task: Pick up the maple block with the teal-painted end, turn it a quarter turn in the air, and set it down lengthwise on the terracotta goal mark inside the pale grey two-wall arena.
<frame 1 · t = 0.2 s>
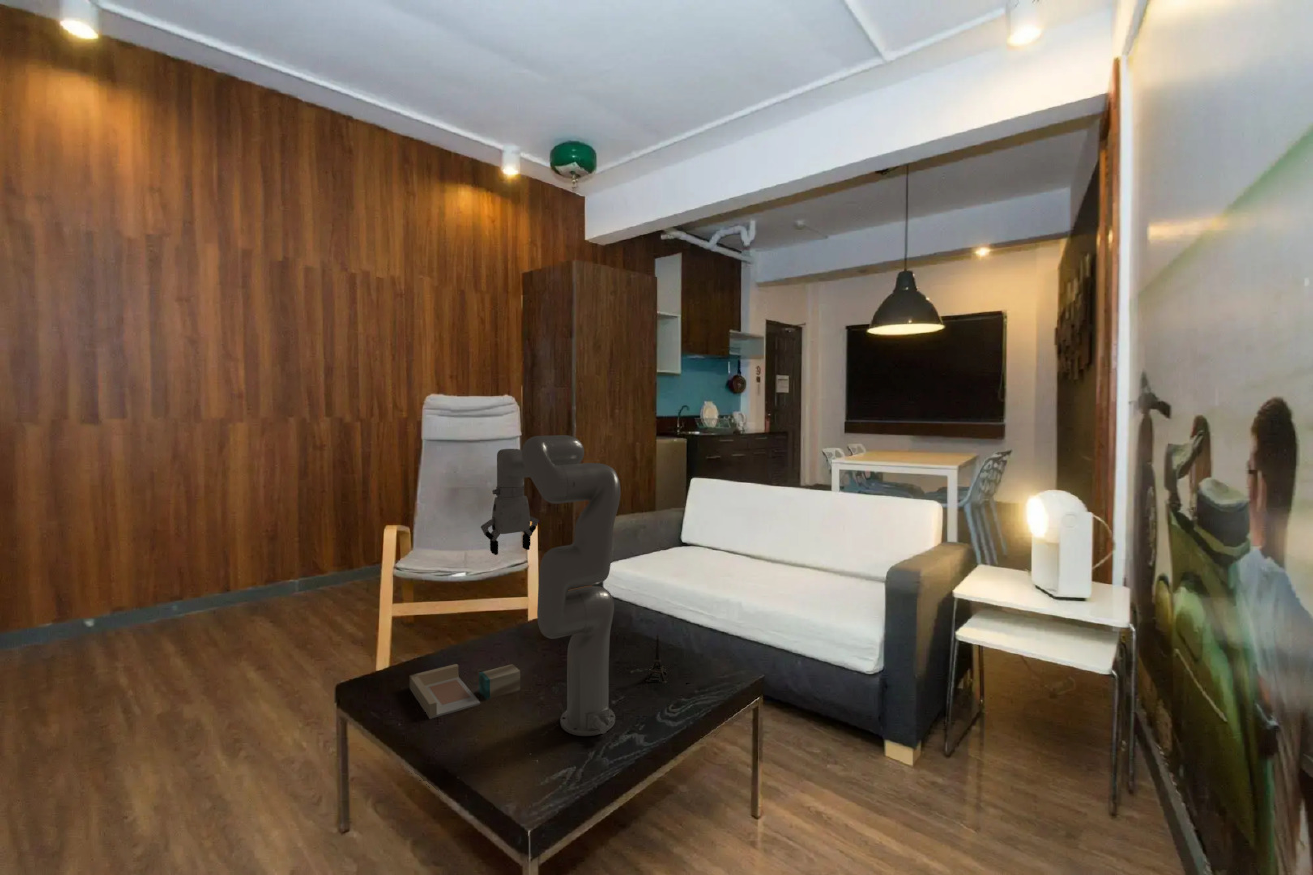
hand: (510, 551, 175), 31 cm above the table, fingers open, 9 cm apart
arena: (444, 696, 152), on the table
eiffel tower figurine: (659, 680, 164), on the table
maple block: (499, 691, 156), on the table
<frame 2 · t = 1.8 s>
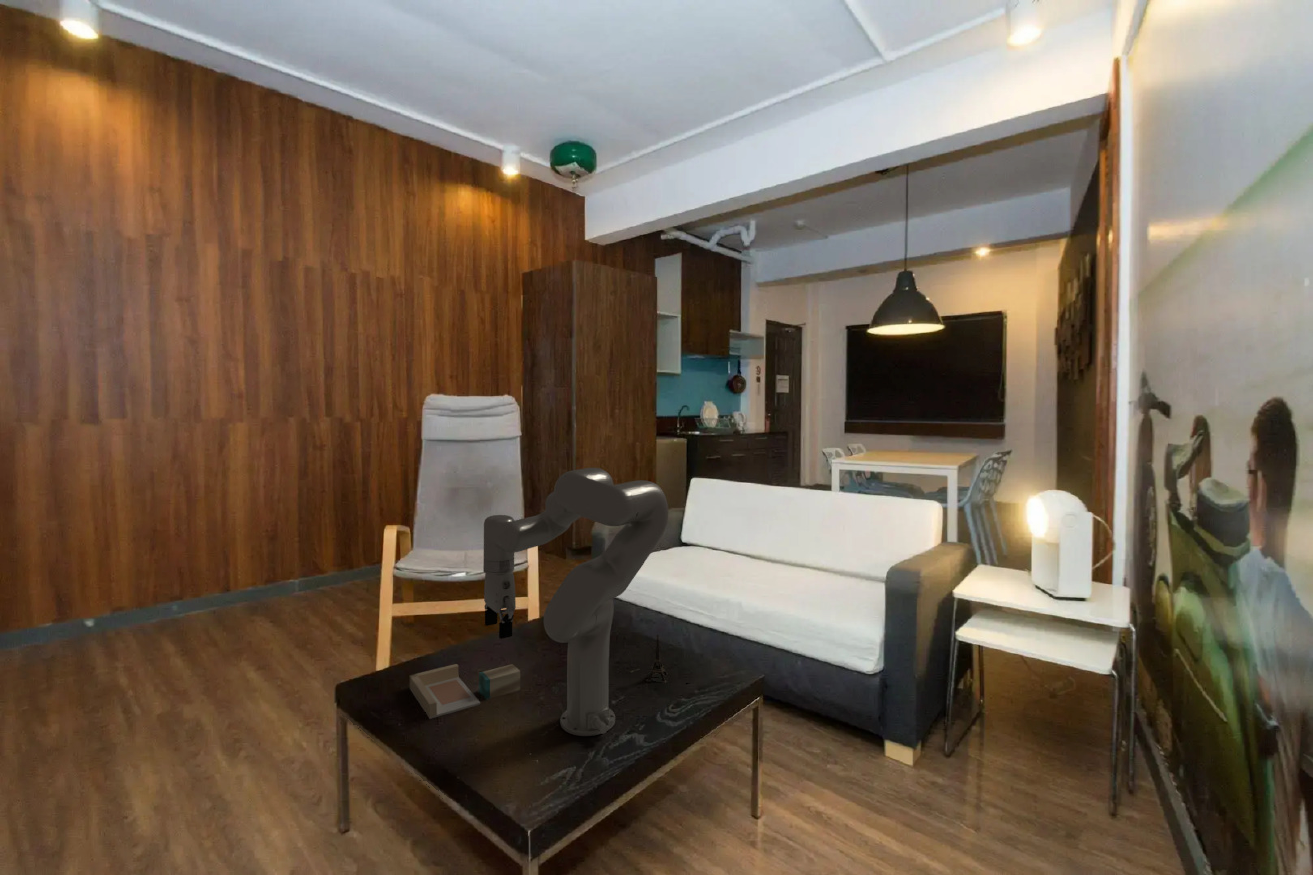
hand: (498, 630, 155), 16 cm above the table, fingers open, 9 cm apart
nothing on the table moved.
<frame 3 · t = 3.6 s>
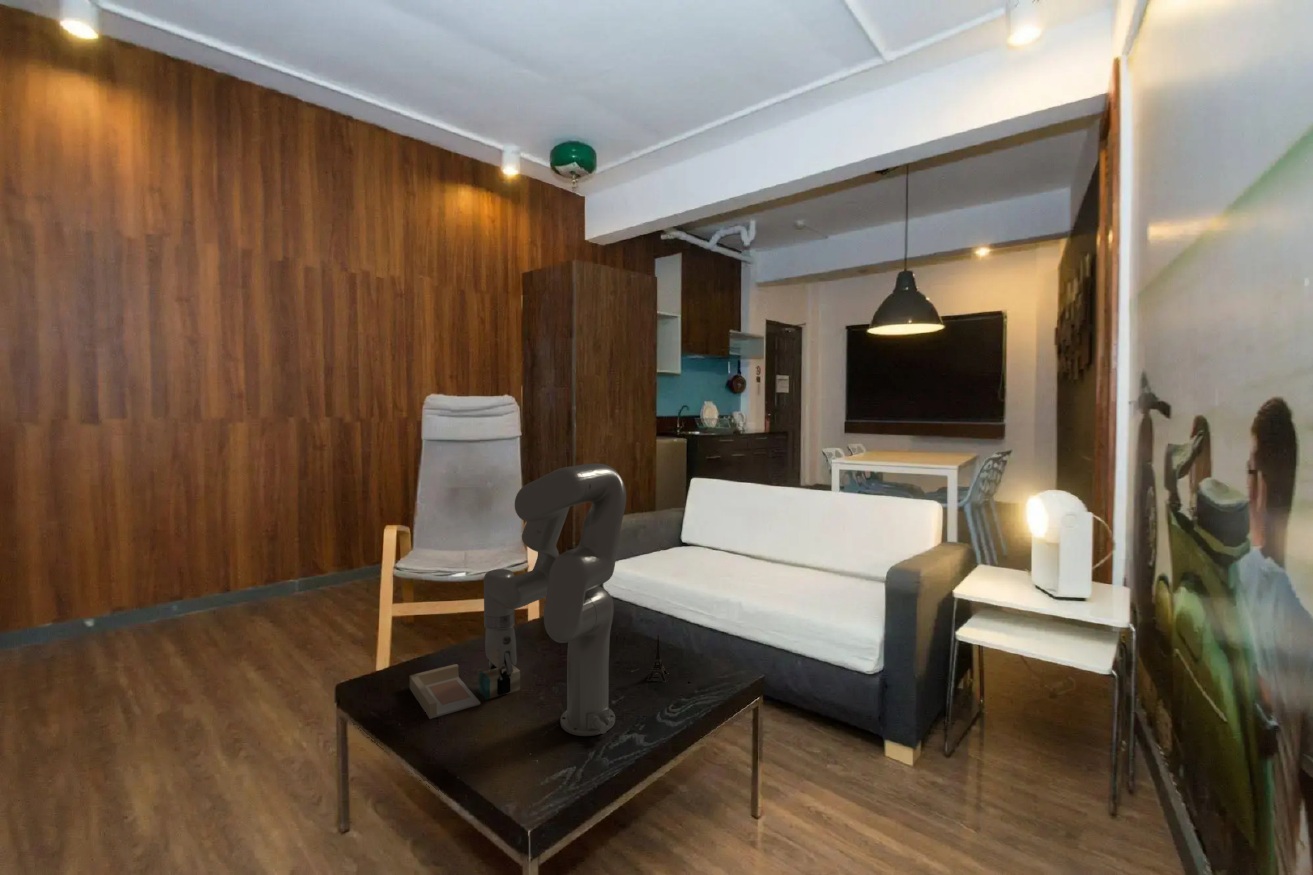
hand: (499, 688, 156), 1 cm above the table, fingers closed on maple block, 5 cm apart
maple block: (499, 690, 156), on the table, touching gripper
everything else where it was.
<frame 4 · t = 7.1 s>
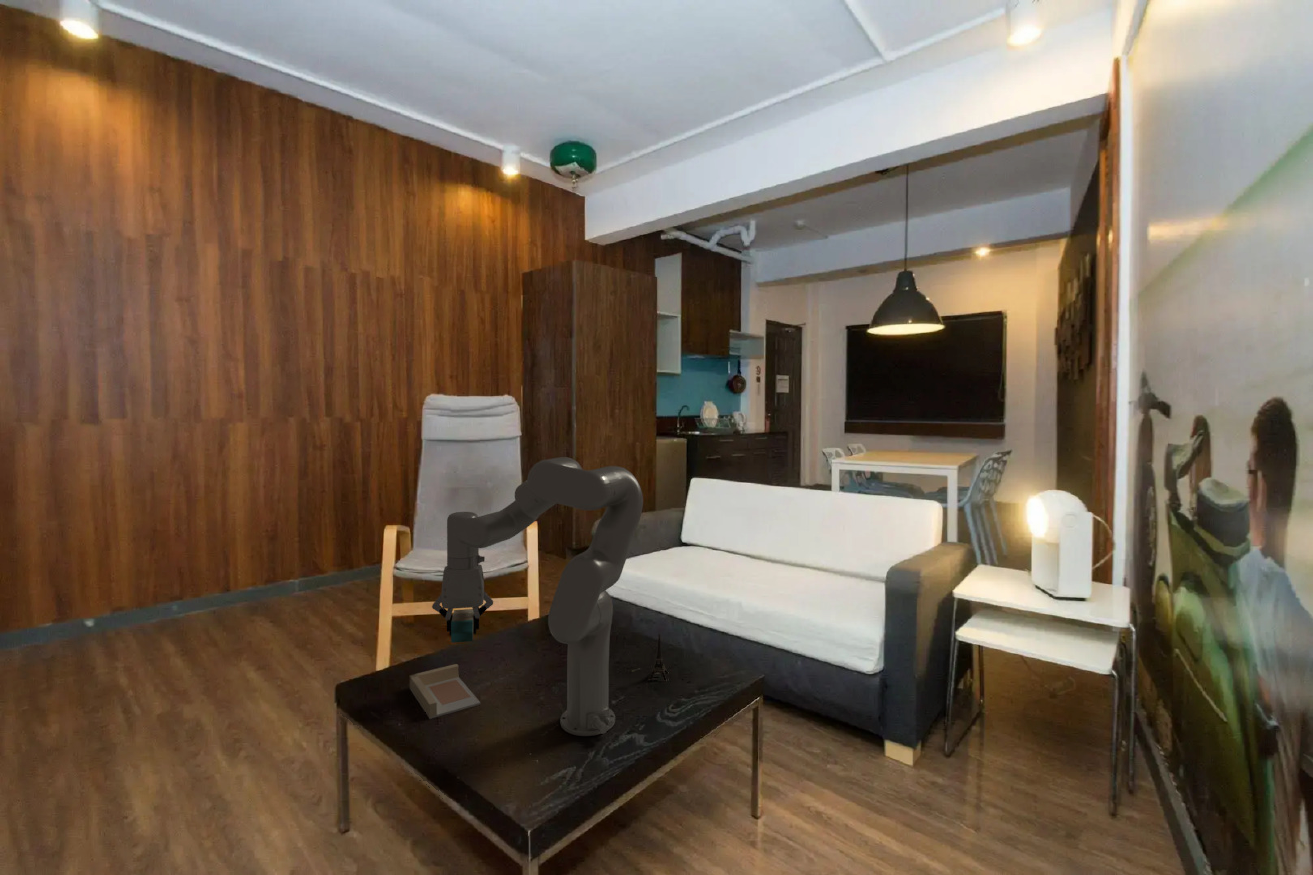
hand: (463, 632, 153), 16 cm above the table, fingers closed on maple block, 5 cm apart
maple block: (463, 635, 154), point 15 cm above the table, touching gripper
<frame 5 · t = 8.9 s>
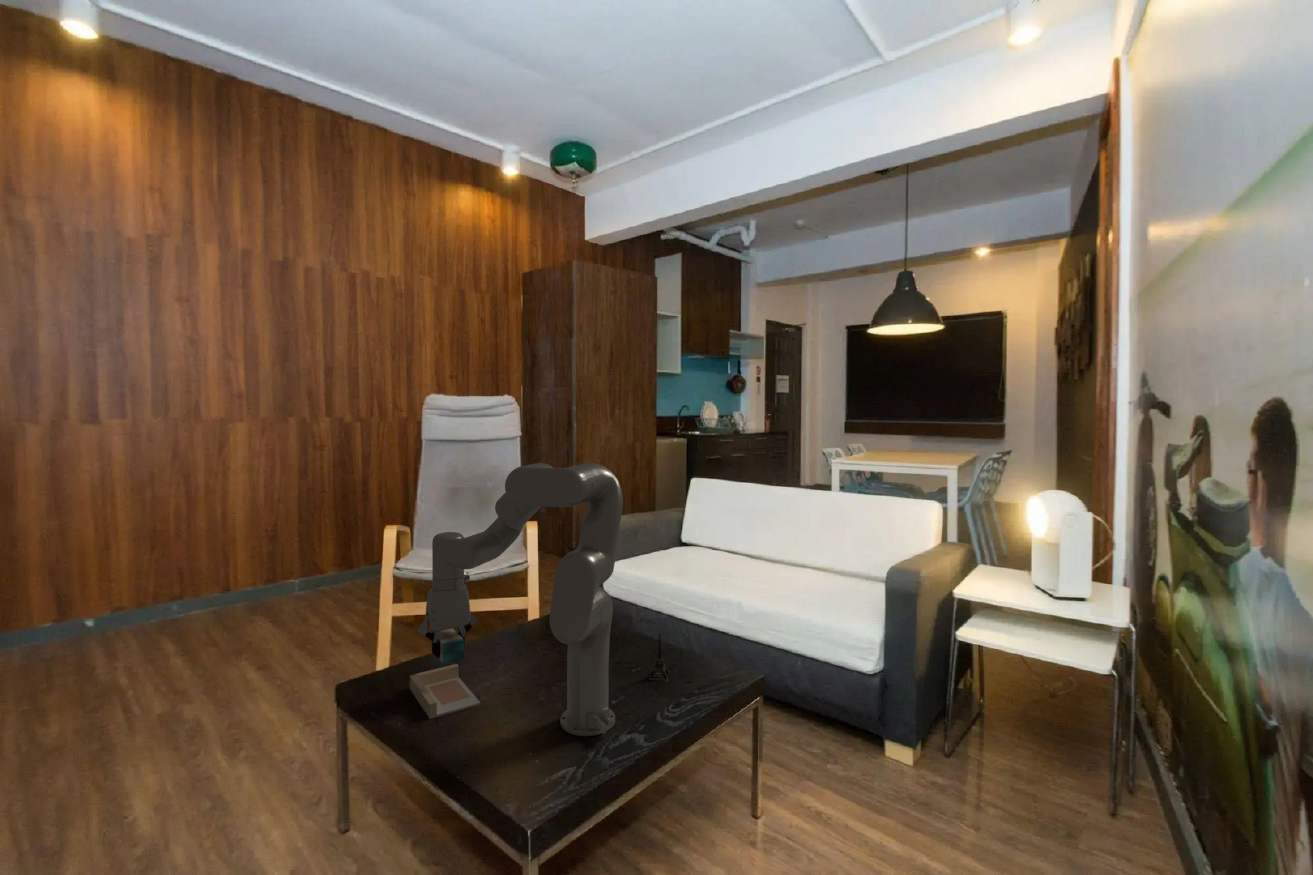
hand: (448, 652, 153), 11 cm above the table, fingers closed on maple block, 5 cm apart
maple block: (448, 655, 153), point 10 cm above the table, touching gripper
when the fingers open (3 cm above the table, at t = 10.6 s): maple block drops 1 cm, resting on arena.
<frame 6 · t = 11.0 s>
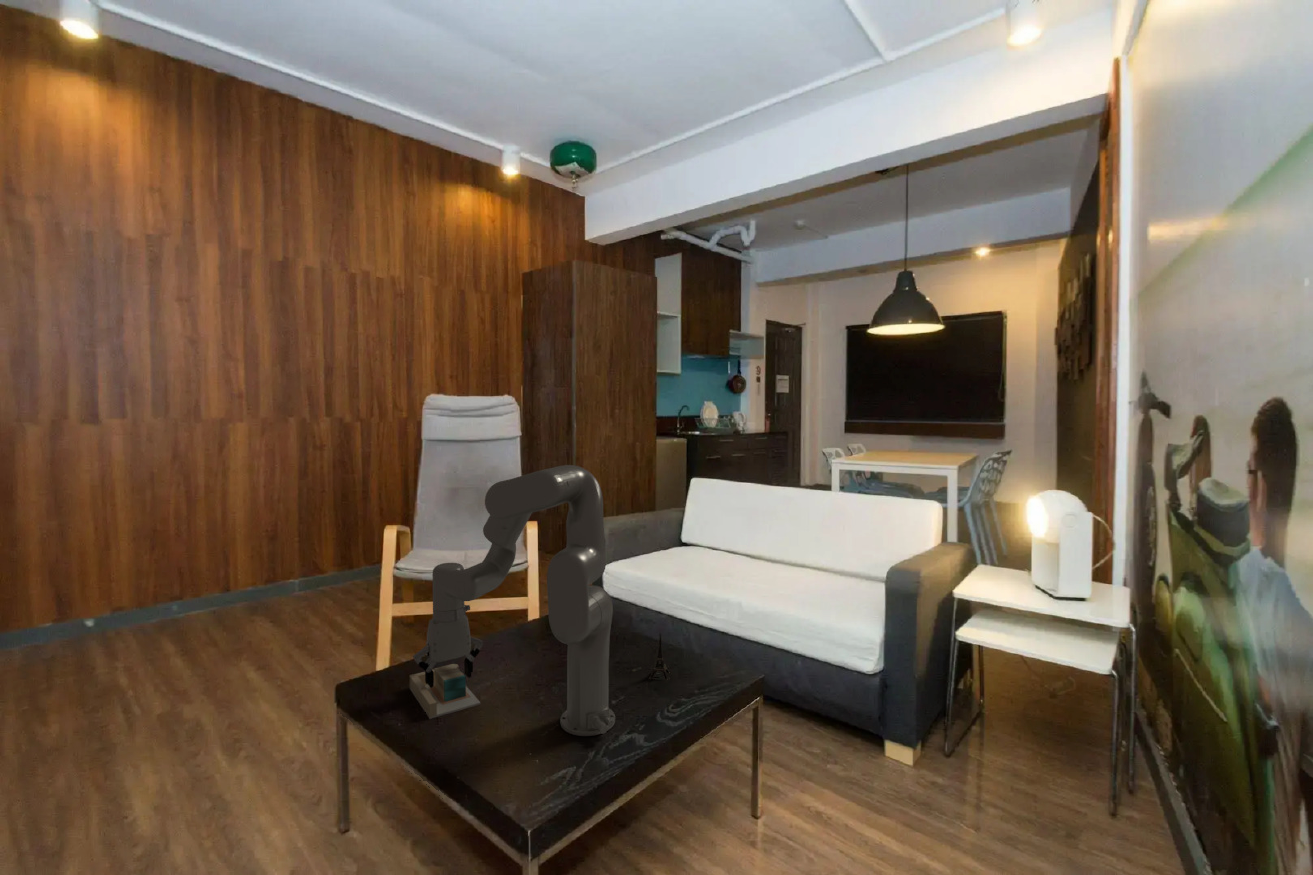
hand: (449, 680, 153), 4 cm above the table, fingers open, 9 cm apart
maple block: (449, 691, 154), point 1 cm above the table, touching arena
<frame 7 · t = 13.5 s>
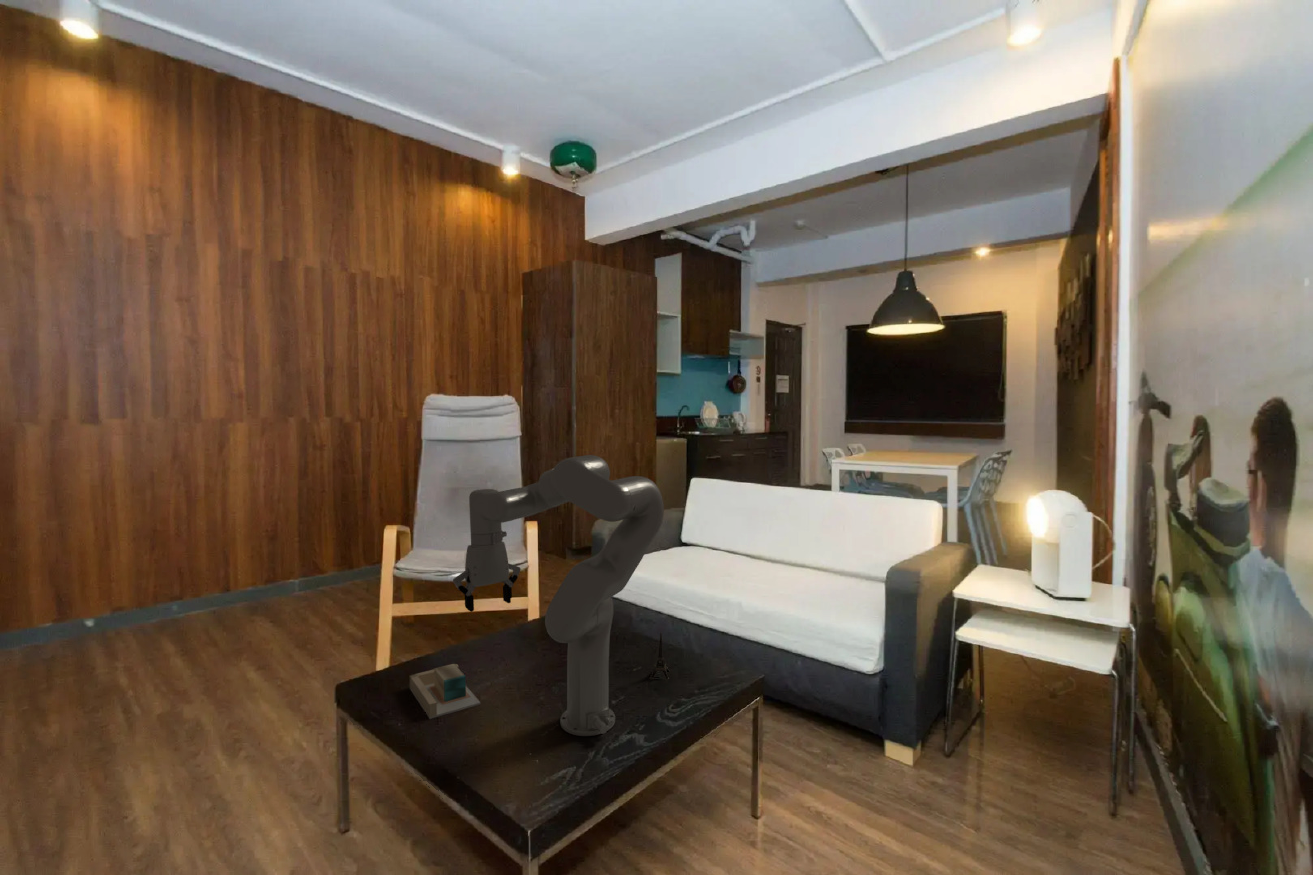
hand: (489, 606, 154), 22 cm above the table, fingers open, 9 cm apart
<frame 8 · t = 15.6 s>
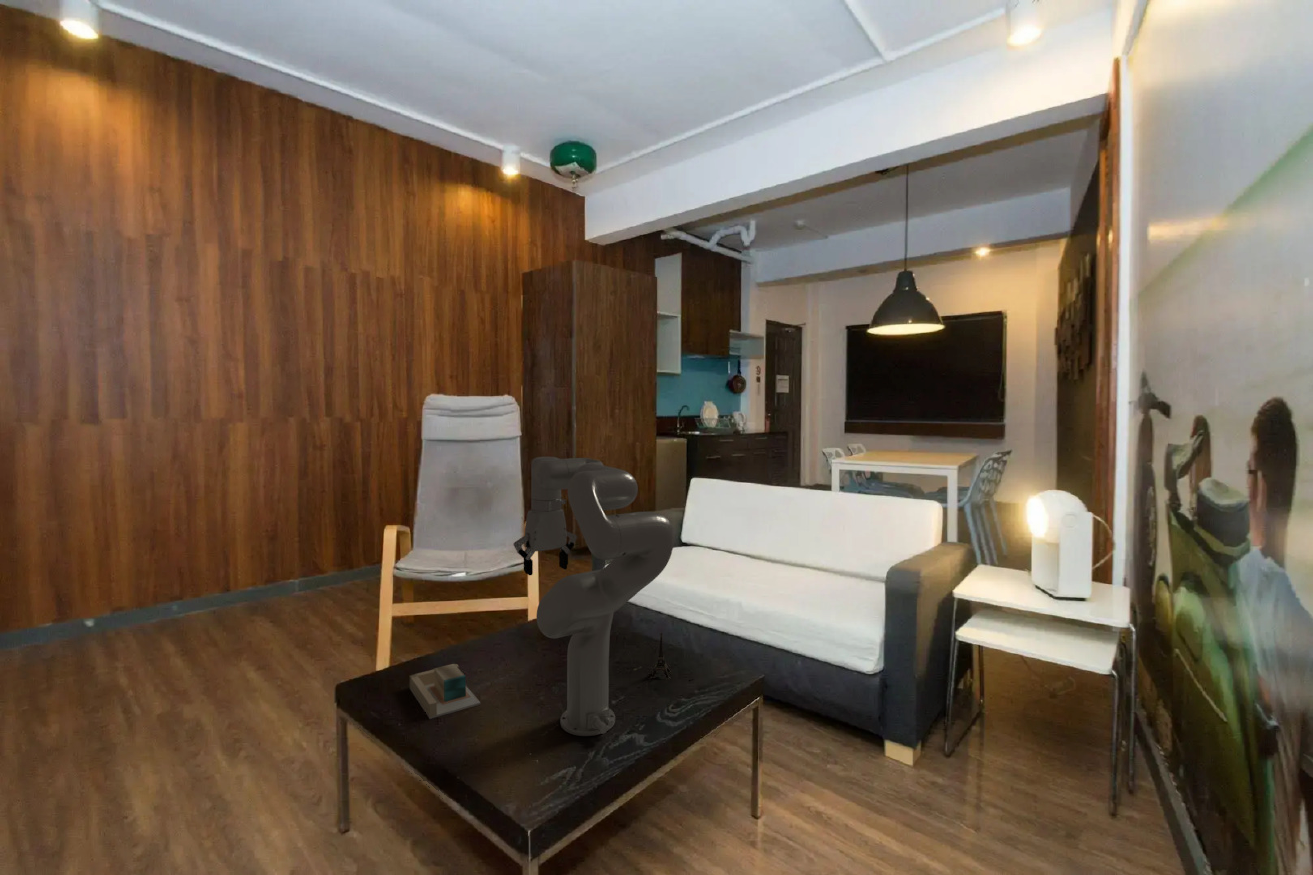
hand: (546, 571, 157), 30 cm above the table, fingers open, 9 cm apart
at the end: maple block 0.1 cm from the target spot on the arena, point 0.6 cm above the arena's base; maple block tilted 0°; the gripper is holding nothing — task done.
